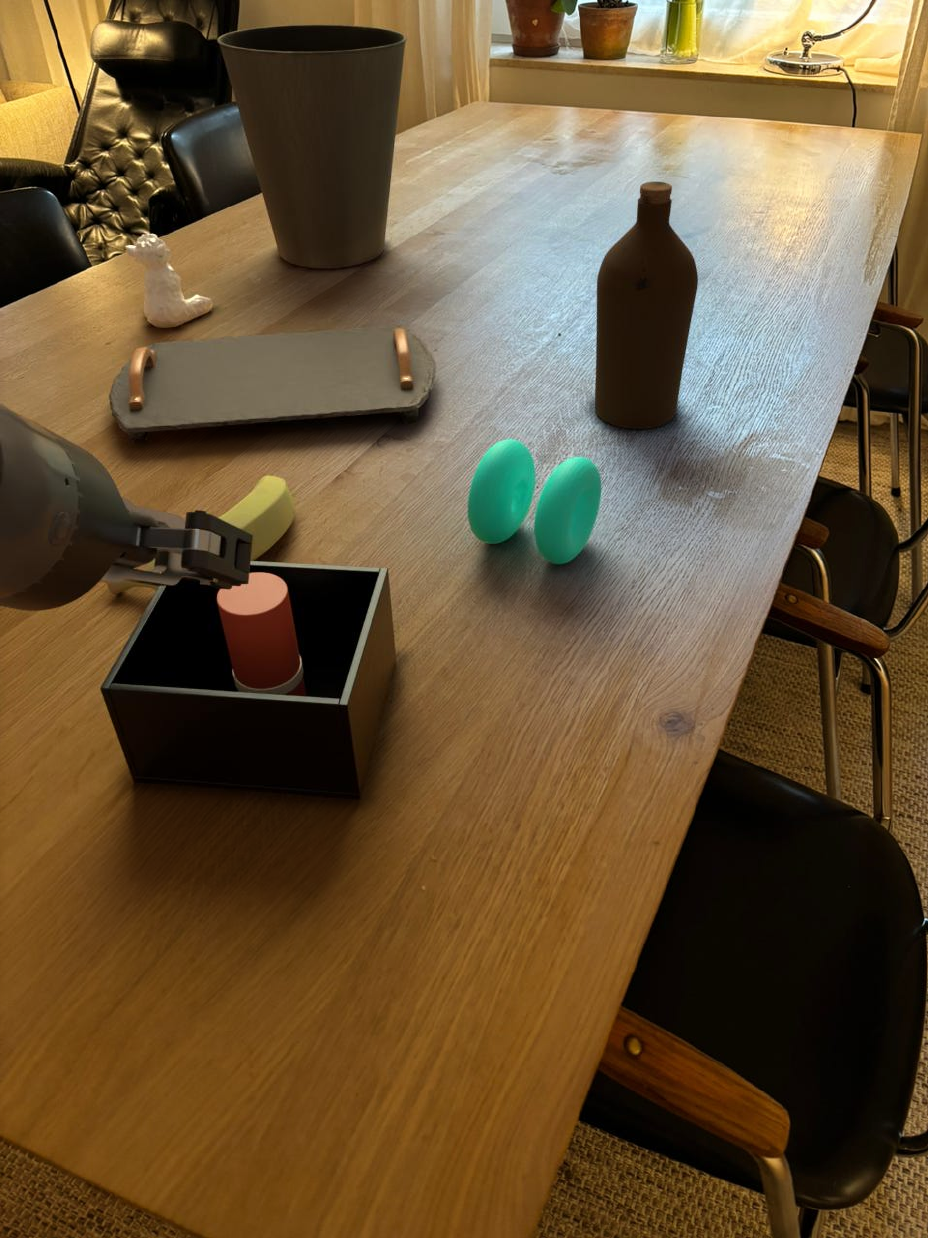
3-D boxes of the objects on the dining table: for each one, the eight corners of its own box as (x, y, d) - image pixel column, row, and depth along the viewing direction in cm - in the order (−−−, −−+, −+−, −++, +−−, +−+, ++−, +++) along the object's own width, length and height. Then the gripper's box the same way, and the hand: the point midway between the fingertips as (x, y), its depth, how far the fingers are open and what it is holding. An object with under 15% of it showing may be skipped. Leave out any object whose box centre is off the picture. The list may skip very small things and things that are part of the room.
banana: (313, 484, 91) (106, 580, 85) (333, 537, 94) (134, 634, 87) (265, 456, 102) (79, 539, 96) (284, 504, 105) (104, 587, 98)
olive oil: (696, 424, 113) (728, 195, 97) (609, 439, 111) (627, 207, 95) (658, 384, 121) (682, 165, 105) (576, 396, 119) (587, 176, 103)
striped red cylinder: (234, 734, 76) (204, 613, 68) (254, 687, 80) (228, 568, 72) (300, 739, 76) (277, 618, 68) (316, 692, 80) (297, 573, 72)
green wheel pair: (559, 588, 90) (563, 495, 84) (463, 558, 94) (460, 467, 88) (602, 532, 97) (609, 442, 90) (511, 506, 101) (511, 418, 94)
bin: (133, 782, 74) (99, 688, 67) (199, 646, 85) (175, 556, 79) (360, 800, 72) (347, 705, 66) (396, 659, 83) (388, 567, 77)
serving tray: (101, 455, 111) (86, 405, 107) (129, 364, 128) (118, 318, 124) (446, 427, 114) (444, 377, 110) (427, 342, 131) (425, 296, 127)
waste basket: (430, 231, 164) (420, 23, 145) (402, 278, 149) (388, 51, 130) (274, 226, 168) (245, 22, 149) (231, 270, 153) (193, 49, 134)
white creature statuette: (215, 308, 142) (199, 222, 134) (192, 333, 135) (174, 244, 128) (153, 305, 143) (133, 220, 135) (127, 330, 137) (105, 242, 129)
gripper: (169, 417, 38) (285, 505, 54) (-177, 400, 39) (37, 490, 55) (148, 612, 37) (272, 642, 53) (-202, 587, 39) (22, 624, 55)
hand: (152, 565), depth 54 cm, fingers open, 8 cm apart
